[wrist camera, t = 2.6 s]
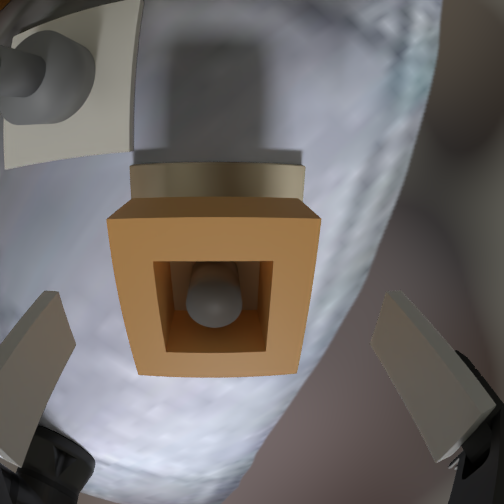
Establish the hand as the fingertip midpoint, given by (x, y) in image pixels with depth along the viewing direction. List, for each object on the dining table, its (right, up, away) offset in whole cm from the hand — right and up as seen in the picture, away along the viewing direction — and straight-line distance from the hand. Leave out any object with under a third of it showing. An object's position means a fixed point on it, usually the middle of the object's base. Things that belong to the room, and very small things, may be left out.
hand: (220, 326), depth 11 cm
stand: (-1, +4, +11) cm, 12 cm away
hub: (-13, +15, +5) cm, 21 cm away
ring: (-1, +2, +4) cm, 5 cm away
